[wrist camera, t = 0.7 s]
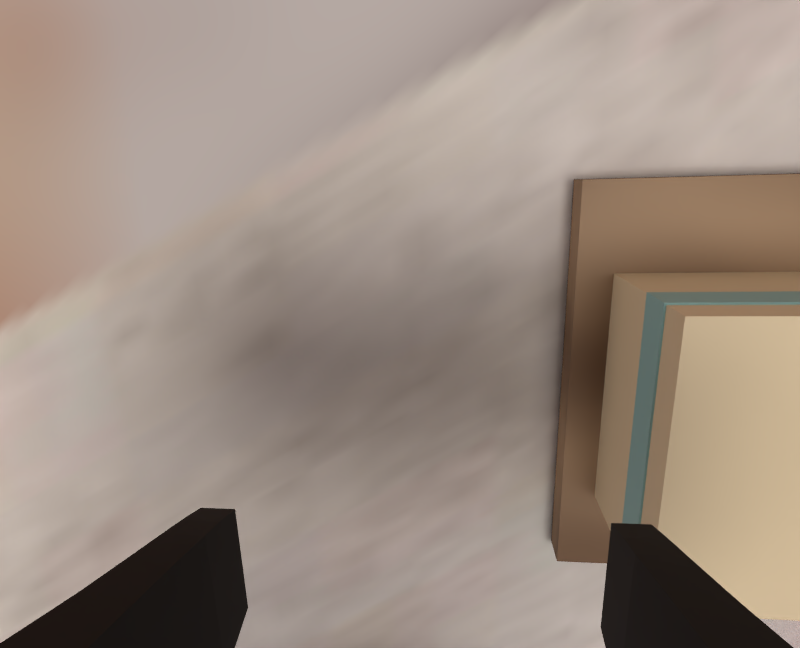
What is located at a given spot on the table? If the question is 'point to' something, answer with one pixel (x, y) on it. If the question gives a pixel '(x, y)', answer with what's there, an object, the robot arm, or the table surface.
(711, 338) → the carton
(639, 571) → the robot arm
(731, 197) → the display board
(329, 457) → the table surface
